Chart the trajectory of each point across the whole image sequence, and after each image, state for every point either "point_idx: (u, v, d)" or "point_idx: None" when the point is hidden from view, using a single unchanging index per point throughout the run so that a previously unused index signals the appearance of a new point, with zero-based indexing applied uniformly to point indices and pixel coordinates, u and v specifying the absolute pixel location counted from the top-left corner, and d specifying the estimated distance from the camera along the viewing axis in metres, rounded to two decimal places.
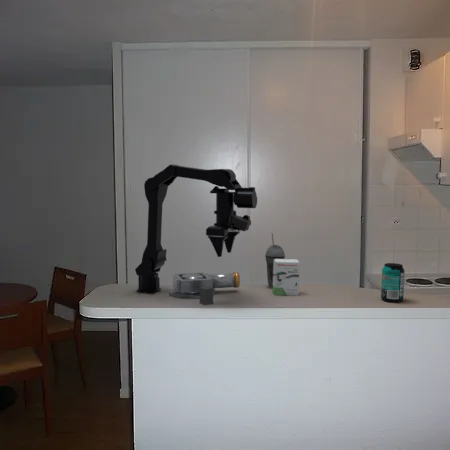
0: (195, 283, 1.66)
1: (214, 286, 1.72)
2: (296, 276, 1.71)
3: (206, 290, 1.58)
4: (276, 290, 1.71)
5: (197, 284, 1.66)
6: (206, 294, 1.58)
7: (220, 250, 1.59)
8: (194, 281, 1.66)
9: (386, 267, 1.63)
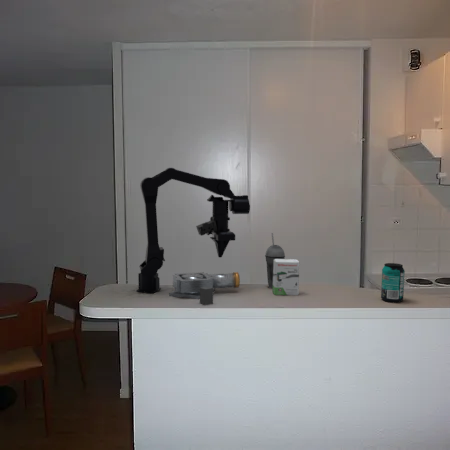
0: (195, 283, 1.66)
1: (214, 286, 1.72)
2: (296, 276, 1.71)
3: (206, 290, 1.58)
4: (276, 290, 1.71)
5: (197, 284, 1.66)
6: (206, 294, 1.58)
7: None
8: (194, 281, 1.66)
9: (386, 267, 1.63)
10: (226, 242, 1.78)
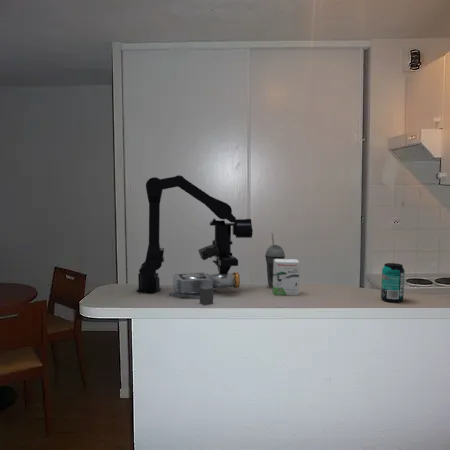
0: (195, 283, 1.66)
1: (214, 286, 1.72)
2: (296, 276, 1.71)
3: (206, 290, 1.58)
4: (276, 290, 1.71)
5: (197, 284, 1.66)
6: (206, 294, 1.58)
7: None
8: (194, 281, 1.66)
9: (386, 267, 1.63)
10: (228, 266, 1.76)
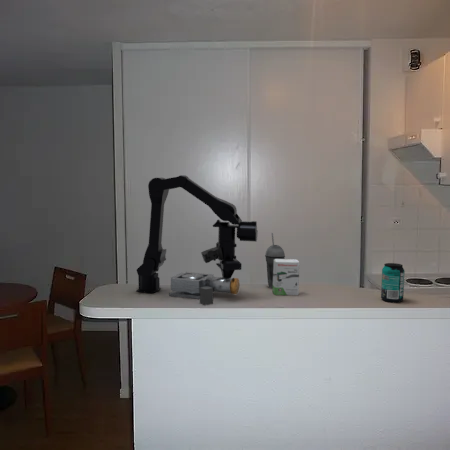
0: (184, 282, 1.66)
1: None
2: (296, 276, 1.71)
3: (206, 290, 1.58)
4: (276, 290, 1.71)
5: (185, 284, 1.66)
6: (206, 294, 1.58)
7: None
8: (183, 281, 1.66)
9: (386, 267, 1.63)
10: (232, 270, 1.70)
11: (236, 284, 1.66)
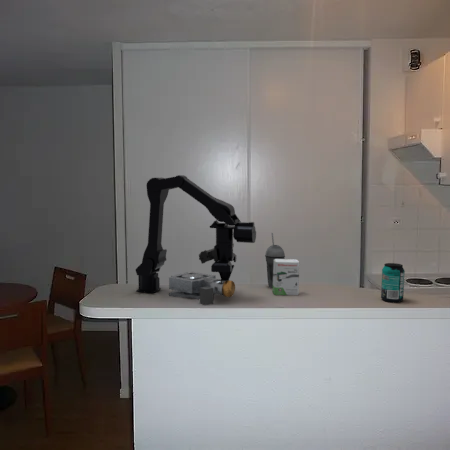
0: (180, 282, 1.67)
1: None
2: (296, 276, 1.71)
3: (206, 290, 1.58)
4: (276, 290, 1.71)
5: (181, 283, 1.67)
6: (206, 294, 1.58)
7: None
8: (179, 280, 1.67)
9: (386, 267, 1.63)
10: (229, 272, 1.66)
11: (229, 287, 1.62)
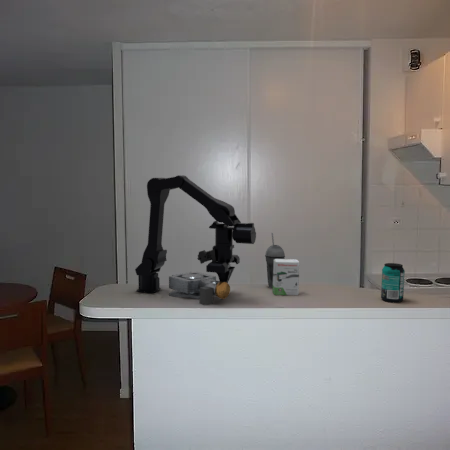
0: (177, 281, 1.68)
1: None
2: (296, 276, 1.71)
3: (206, 290, 1.58)
4: (276, 290, 1.71)
5: (178, 283, 1.68)
6: (206, 294, 1.58)
7: None
8: (176, 279, 1.68)
9: (386, 267, 1.63)
10: (227, 273, 1.63)
11: (223, 288, 1.60)
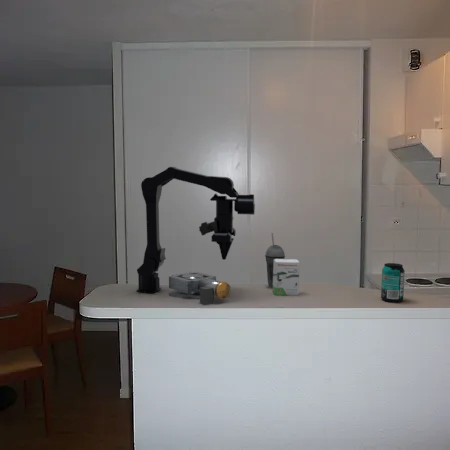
0: (177, 281, 1.68)
1: None
2: (296, 276, 1.71)
3: (206, 290, 1.58)
4: (276, 290, 1.71)
5: (178, 283, 1.68)
6: (206, 294, 1.58)
7: None
8: (176, 279, 1.68)
9: (386, 267, 1.63)
10: (228, 244, 1.69)
11: (223, 288, 1.60)
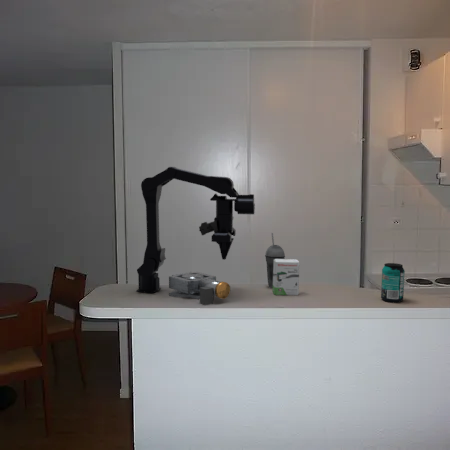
0: (177, 281, 1.68)
1: None
2: (296, 276, 1.71)
3: (206, 290, 1.58)
4: (276, 290, 1.71)
5: (178, 283, 1.68)
6: (206, 294, 1.58)
7: None
8: (176, 279, 1.68)
9: (386, 267, 1.63)
10: (228, 244, 1.69)
11: (223, 288, 1.60)
